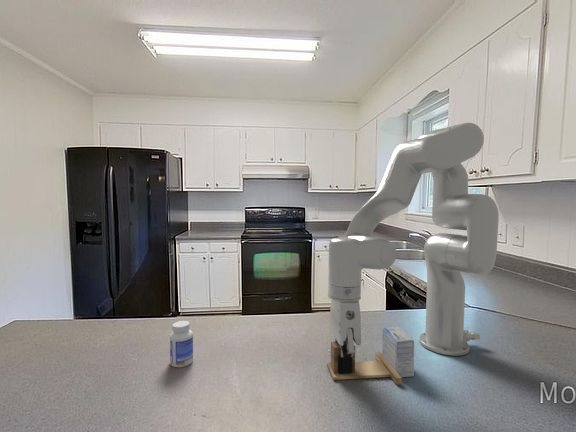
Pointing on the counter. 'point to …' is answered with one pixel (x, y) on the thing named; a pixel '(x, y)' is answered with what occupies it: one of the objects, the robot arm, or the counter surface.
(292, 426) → the counter surface
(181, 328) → the pill bottle
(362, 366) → the wooden t-shaped piece
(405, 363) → the medicine box
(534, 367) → the counter surface
